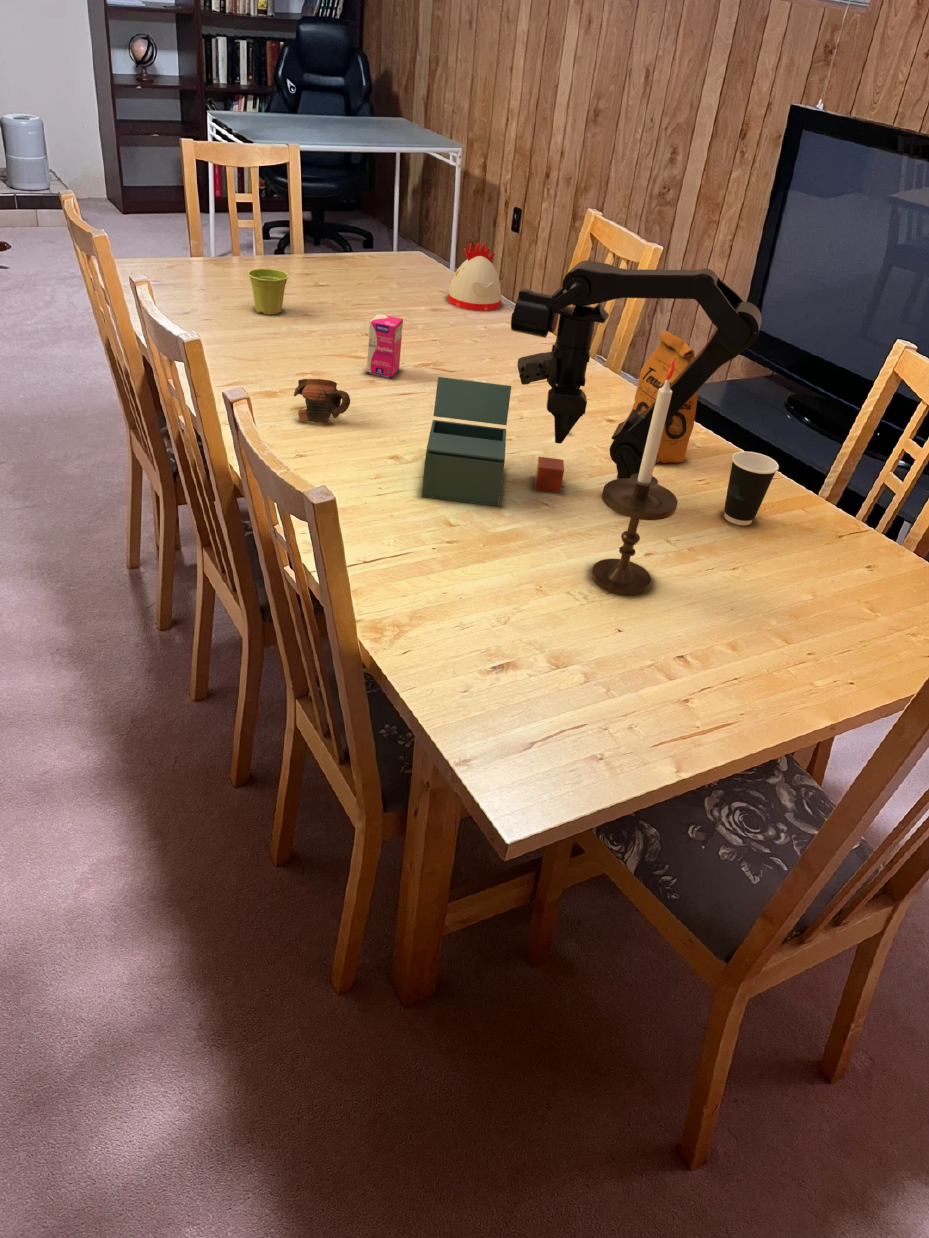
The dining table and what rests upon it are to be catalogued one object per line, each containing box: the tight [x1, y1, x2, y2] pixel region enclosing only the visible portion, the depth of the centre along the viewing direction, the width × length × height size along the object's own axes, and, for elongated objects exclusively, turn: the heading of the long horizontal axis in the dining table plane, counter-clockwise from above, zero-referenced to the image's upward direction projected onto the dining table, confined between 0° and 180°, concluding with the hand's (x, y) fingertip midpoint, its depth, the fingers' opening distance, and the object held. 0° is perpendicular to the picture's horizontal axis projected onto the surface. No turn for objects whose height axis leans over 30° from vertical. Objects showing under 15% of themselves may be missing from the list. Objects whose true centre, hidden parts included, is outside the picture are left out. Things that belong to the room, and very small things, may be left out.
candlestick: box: [590, 357, 679, 597], centre depth 140 cm, size 11×11×35 cm
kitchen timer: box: [447, 242, 502, 312], centre depth 253 cm, size 14×14×15 cm
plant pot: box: [247, 268, 290, 315], centre depth 231 cm, size 9×9×9 cm
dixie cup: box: [723, 450, 780, 526], centre depth 168 cm, size 8×8×11 cm
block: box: [534, 456, 565, 494], centre depth 172 cm, size 4×4×4 cm
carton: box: [421, 419, 507, 507], centre depth 168 cm, size 13×14×9 cm
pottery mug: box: [293, 378, 351, 425], centre depth 186 cm, size 12×10×8 cm
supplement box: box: [365, 313, 404, 379], centre depth 206 cm, size 6×6×12 cm
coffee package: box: [630, 330, 699, 464], centre depth 185 cm, size 10×12×22 cm
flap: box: [433, 376, 512, 426], centre depth 171 cm, size 13×7×1 cm
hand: (557, 431), depth 168 cm, fingers open, 9 cm apart
